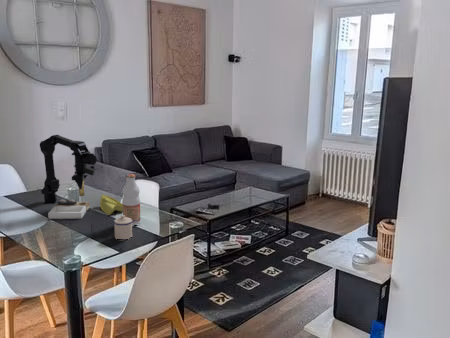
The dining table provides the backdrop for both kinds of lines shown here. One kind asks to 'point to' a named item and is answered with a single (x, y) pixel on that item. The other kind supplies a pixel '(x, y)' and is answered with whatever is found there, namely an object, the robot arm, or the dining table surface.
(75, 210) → the tray
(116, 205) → the plastic component
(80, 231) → the dining table surface
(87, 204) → the plate
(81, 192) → the lock pin
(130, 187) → the fruit juice
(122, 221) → the teacup with lid
